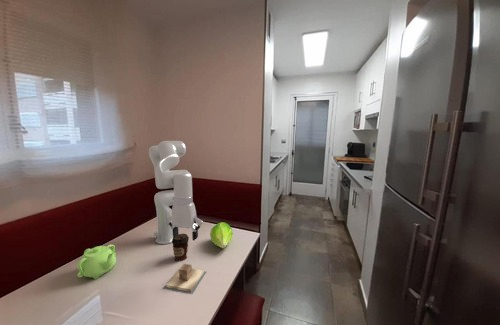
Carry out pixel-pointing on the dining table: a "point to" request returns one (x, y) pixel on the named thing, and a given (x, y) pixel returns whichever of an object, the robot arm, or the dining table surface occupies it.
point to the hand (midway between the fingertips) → (185, 237)
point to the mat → (186, 291)
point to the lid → (185, 278)
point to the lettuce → (221, 234)
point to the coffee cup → (180, 247)
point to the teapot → (97, 261)
